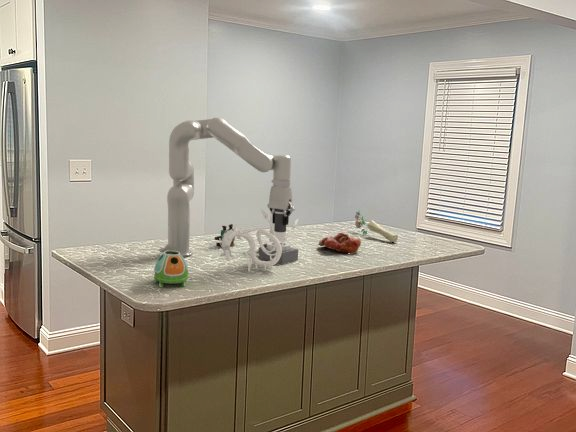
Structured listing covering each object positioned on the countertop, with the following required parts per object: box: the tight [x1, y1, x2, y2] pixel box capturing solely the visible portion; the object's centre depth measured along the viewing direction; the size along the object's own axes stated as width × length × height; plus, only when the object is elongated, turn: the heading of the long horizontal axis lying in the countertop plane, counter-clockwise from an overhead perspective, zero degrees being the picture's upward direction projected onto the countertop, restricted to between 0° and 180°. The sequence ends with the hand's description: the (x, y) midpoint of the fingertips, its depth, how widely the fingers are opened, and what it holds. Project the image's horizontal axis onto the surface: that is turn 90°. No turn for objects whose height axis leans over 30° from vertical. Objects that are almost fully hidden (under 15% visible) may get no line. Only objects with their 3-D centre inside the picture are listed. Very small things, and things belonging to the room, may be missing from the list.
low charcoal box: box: [257, 241, 299, 265], centre depth 255 cm, size 11×14×7 cm
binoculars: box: [214, 223, 236, 247], centre depth 278 cm, size 9×11×10 cm
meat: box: [318, 232, 362, 254], centre depth 280 cm, size 21×21×10 cm
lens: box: [274, 209, 287, 233], centre depth 253 cm, size 5×5×10 cm
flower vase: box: [354, 211, 399, 243], centre depth 317 cm, size 12×12×35 cm
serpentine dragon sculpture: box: [219, 208, 300, 272], centre depth 239 cm, size 43×20×25 cm, turn 119°
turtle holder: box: [153, 251, 189, 288], centre depth 212 cm, size 12×18×12 cm
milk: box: [268, 213, 286, 242], centre depth 273 cm, size 6×6×22 cm
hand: (280, 223), depth 253 cm, fingers closed on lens, 5 cm apart
